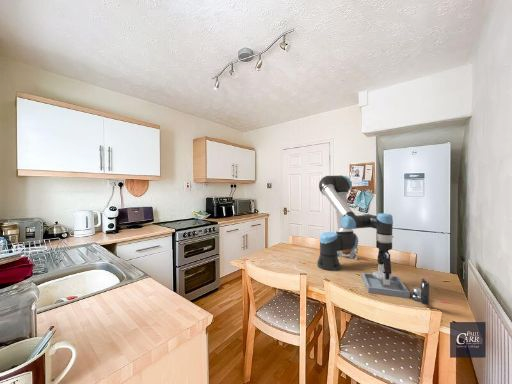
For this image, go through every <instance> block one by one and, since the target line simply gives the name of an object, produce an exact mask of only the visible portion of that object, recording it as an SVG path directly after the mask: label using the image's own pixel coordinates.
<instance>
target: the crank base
mask: <svg viewBox="0 0 512 384" xmlns="http://www.w3.org/2000/svg"><path fill="white" fill-rule="evenodd" d="M409 299H411V300H413V301H415V302H419V303H421V300H420V299H419V298H418V297H417V296H416V295H414V294H413V291H410V298H409Z"/></svg>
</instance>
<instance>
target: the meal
mask: <svg viewBox="0 0 512 384" xmlns="http://www.w3.org/2000/svg"><path fill="white" fill-rule="evenodd" d="M358 252H359V251H358V246H357V247H356V248H355V249H352V250H344V251H337V257H338V258H340V257H341V258H349V259H351V260H353V259H354V260H356V261H357V260H358Z"/></svg>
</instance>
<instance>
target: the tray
mask: <svg viewBox="0 0 512 384" xmlns="http://www.w3.org/2000/svg"><path fill="white" fill-rule="evenodd" d="M361 275H362V277H361V279H362V280H363V283H364V285H365V288H366V290H367V292H368V294H373V295H374V294H376V295H382V296H391V297H399V298H407V299H411V298H410V293H411V291H409V289H408V287H406V285H405V284H404V283H403V281H402V280H401V279H400V277H398V275H397V276H396V275H395V276H394V275H392V279H390V285H385V286H381V283H380V282H378V278H376V277H374V276H373V273H368V272H367V273H366V272H362V273H361Z"/></svg>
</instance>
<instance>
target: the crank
mask: <svg viewBox="0 0 512 384" xmlns="http://www.w3.org/2000/svg"><path fill="white" fill-rule="evenodd" d="M412 292H413V294H414V295H416V296H417V297H418V298H419V299H420V300H421V302H420V303H421V304H422V305H424V306H429V305H430V282H429V281H427V280H426V279H425V278H421V282H420V287H417V286H413V287H412Z"/></svg>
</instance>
